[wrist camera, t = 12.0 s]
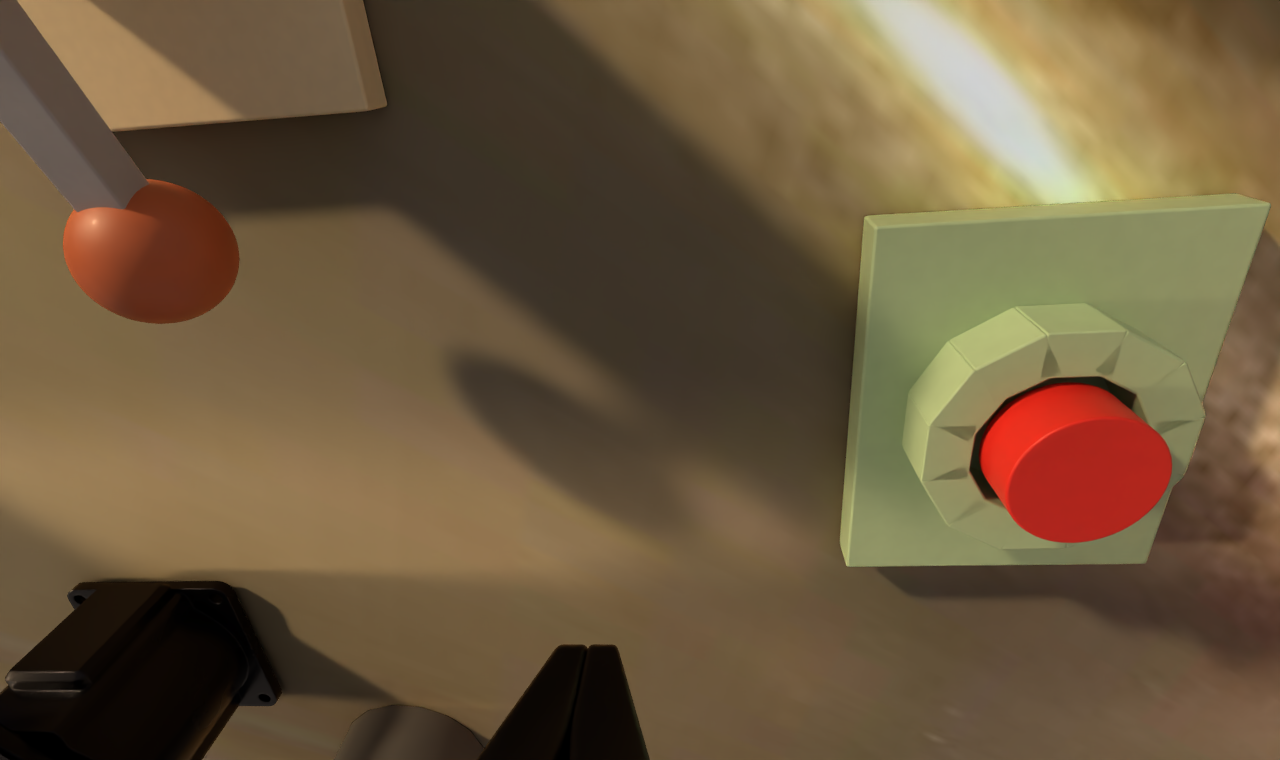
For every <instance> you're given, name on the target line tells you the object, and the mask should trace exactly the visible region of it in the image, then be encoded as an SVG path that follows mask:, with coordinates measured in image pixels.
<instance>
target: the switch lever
mask: <svg viewBox="0 0 1280 760" xmlns="http://www.w3.org/2000/svg"><path fill="white" fill-rule="evenodd" d="M0 122H1V123H2V124H3V125H4V127H5V128H6V129H7V130H8V131H9V132H10V134H11V135H12V136H13V137H14V138H15V140H16V141H17V142H18V143H19V144H20V145H21V147H22V148H23V149H24V150H25V151H26V153H27V154H28V155H29V156H30V157H31V159H32V160H33V161H34V162H35V163H36V164H37V166H38V167H39V168H40V169H41V170H42V172H43V173H44V174H45V175H46V176H47V178H48V179H49V180H50V181H51V182H52V183H53V185H54V186H55V187H56V188H57V189H58V191H59V192H60V193H61V194H62V195H63V196H64V198H65V199H66V200H67V201H68V202H69V204H70V205H71V206H72V207H73V208H74V210H73V212H72V213H71V215H70V217H69V219H68V221H67V224H66V227H65V230H64V237H63V250H64V256H65V260H66V263H67V266H68V268H69V271H70V273H71V275H72V277H73V278H74V280H75V281H76V283H77V284H78V285H79V286H80V288H81V289H82V290H83V291H84V292H85V293H86V294H87V295H88V296H89V297H90V298H91V299H92V300H94V301H95V302H96V303H98V304H99V305H101V306H102V307H104V308H106V309H107V310H109V311H111V312H113V313H115V314H117V315H120V316H122V317H125V318H128V319H131V320H135V321H140V322H146V323H155V324H165V323H177V322H182V321H186V320H190V319H193V318H195V317H198V316H200V315H203V314H204V313H206V312H208V311H210V310H211V309H213V308H214V307H215V306H217V305H218V304H219V303H220V302H221V301H222V300H223V299H224V298H225V297H226V296H227V294H228V293H229V291H230V290H231V288H232V286H233V285H234V283H235V280H236V277H237V274H238V269H239V250H238V245H237V241H236V238H235V235H234V233H233V231H232V229H231V227H230V225H229V224H228V222H227V221H226V220H225V218H224V217H223V215H222V214H221V213H220V212H219V211H218V210H217V209H216V208H215V207H214V206H213V205H212V204H211V203H209V202H208V201H207V200H205V199H204V198H203V197H201V196H200V195H198V194H196V193H194V192H193V191H191V190H188V189H186V188H184V187H181V186H179V185H176V184H172V183H169V182H165V181H160V180H152V179H146V178H145V177H144V176H143V174H142V173H141V171H140V170H139V169H138V167H137V166H136V164H135V163H134V162H133V160H132V159H131V158H130V156H129V155H128V153H127V152H126V151H125V149H124V148H123V146H122V145H121V144H120V142H119V141H118V140H117V138H116V137H115V135H114V134H113V133H112V131H111V130H110V128H109V127H108V126H107V124H106V123H105V122H104V120H103V119H102V117H101V116H100V115H99V113H98V112H97V110H96V109H95V108H94V106H93V105H92V104H91V102H90V101H89V99H88V98H87V97H86V95H85V94H84V92H83V91H82V90H81V88H80V87H79V86H78V84H77V83H76V81H75V80H74V79H73V77H72V76H71V74H70V73H69V72H68V70H67V69H66V68H65V66H64V65H63V63H62V62H61V61H60V59H59V58H58V56H57V55H56V54H55V52H54V51H53V50H52V48H51V47H50V45H49V44H48V43H47V41H46V40H45V38H44V37H43V36H42V34H41V33H40V32H39V30H38V29H37V27H36V26H35V25H34V23H33V22H32V20H31V19H30V18H29V16H28V15H27V14H26V12H25V11H24V9H23V8H22V7H21V5H20V4H19V2H18V1H17V0H0Z"/></svg>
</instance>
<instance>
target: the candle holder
mask: <svg viewBox="0 0 1280 760" xmlns="http://www.w3.org/2000/svg"><path fill="white" fill-rule="evenodd" d="M483 750H484V749H483V747H482V746H481V744H480V743H479V742H478V741H477V739H476V738H475V737H474V735H473V734H472V733H471V731H470V730H468V729H467V728H465V727H464V726H462V725H461V724H459V723H457V722H456V721H454V720H453V719H451V718H450V717H448V716H446V715H443V714H440V713H437V712H434V711H431V710H428V709H425V708H422V707H412V706H397V705H391V706H386V707H382V708H377V709H373V710H369V711H367V712H366V713H364V714H363V715H362V716H360V717H359V718H358V719H356V720H355V721H354V722H352V724H351V726H350V728H349V730H348V732H347V734H346V736H345V738H344V740H343V742H342V744H341V746H340V748H339V750H338V752H337V754H336V756H335V758H334V760H476V759H477V758H478V757H479V755H480V754H481V752H482V751H483Z"/></svg>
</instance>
